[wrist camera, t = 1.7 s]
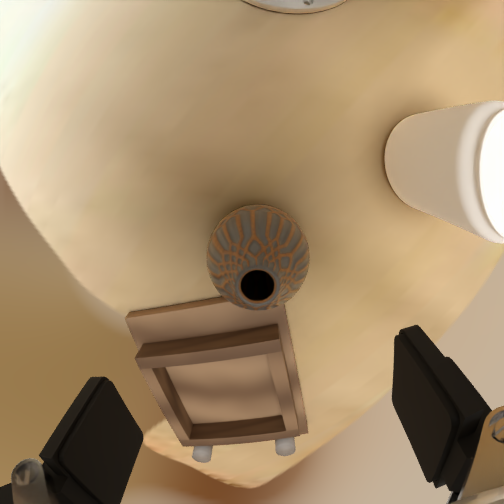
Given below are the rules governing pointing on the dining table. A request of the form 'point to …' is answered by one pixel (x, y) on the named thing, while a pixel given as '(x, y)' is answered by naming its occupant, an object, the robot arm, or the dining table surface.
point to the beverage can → (452, 166)
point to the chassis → (221, 373)
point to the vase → (258, 257)
